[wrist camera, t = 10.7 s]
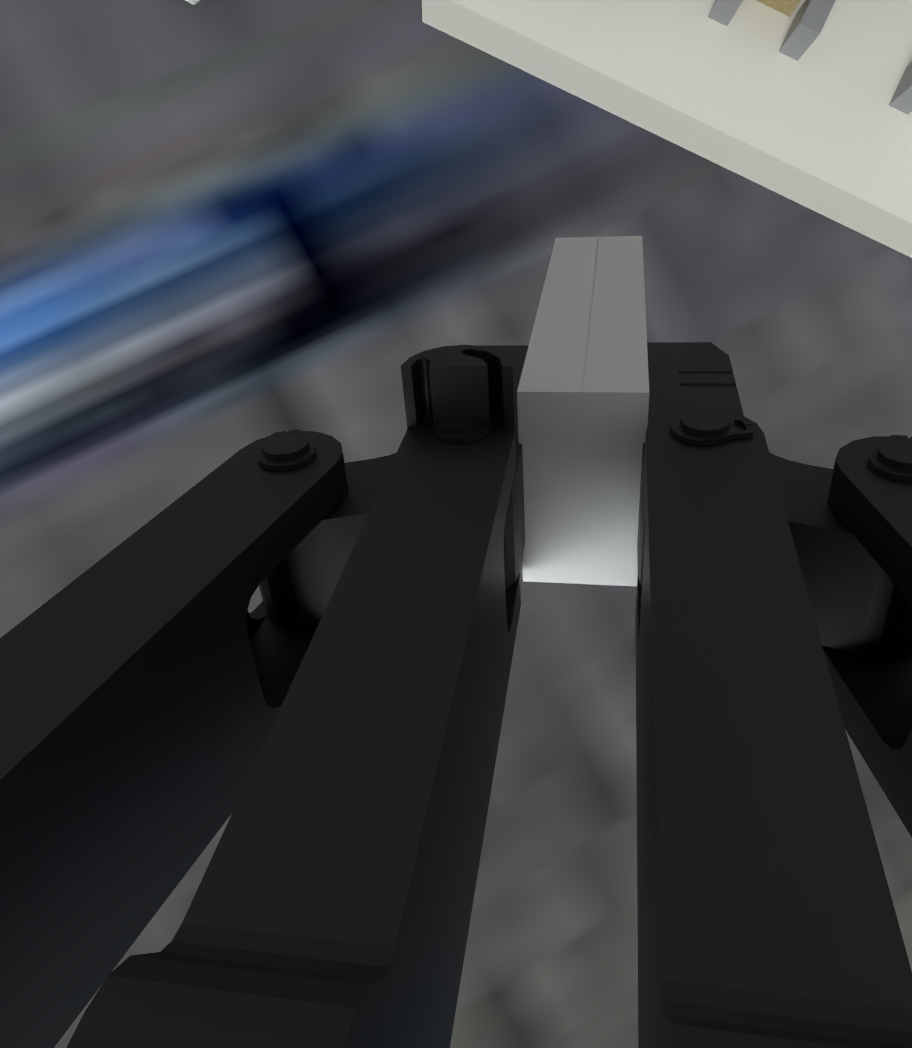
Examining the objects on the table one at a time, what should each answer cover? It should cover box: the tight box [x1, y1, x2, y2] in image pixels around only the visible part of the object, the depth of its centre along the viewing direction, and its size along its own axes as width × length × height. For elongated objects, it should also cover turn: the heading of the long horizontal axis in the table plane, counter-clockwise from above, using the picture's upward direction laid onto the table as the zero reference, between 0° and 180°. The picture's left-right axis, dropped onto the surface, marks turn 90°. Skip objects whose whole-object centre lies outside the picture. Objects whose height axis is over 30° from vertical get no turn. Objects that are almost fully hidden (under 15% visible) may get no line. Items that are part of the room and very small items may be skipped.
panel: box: [422, 0, 912, 258], centre depth 41 cm, size 11×30×5 cm, turn 65°
